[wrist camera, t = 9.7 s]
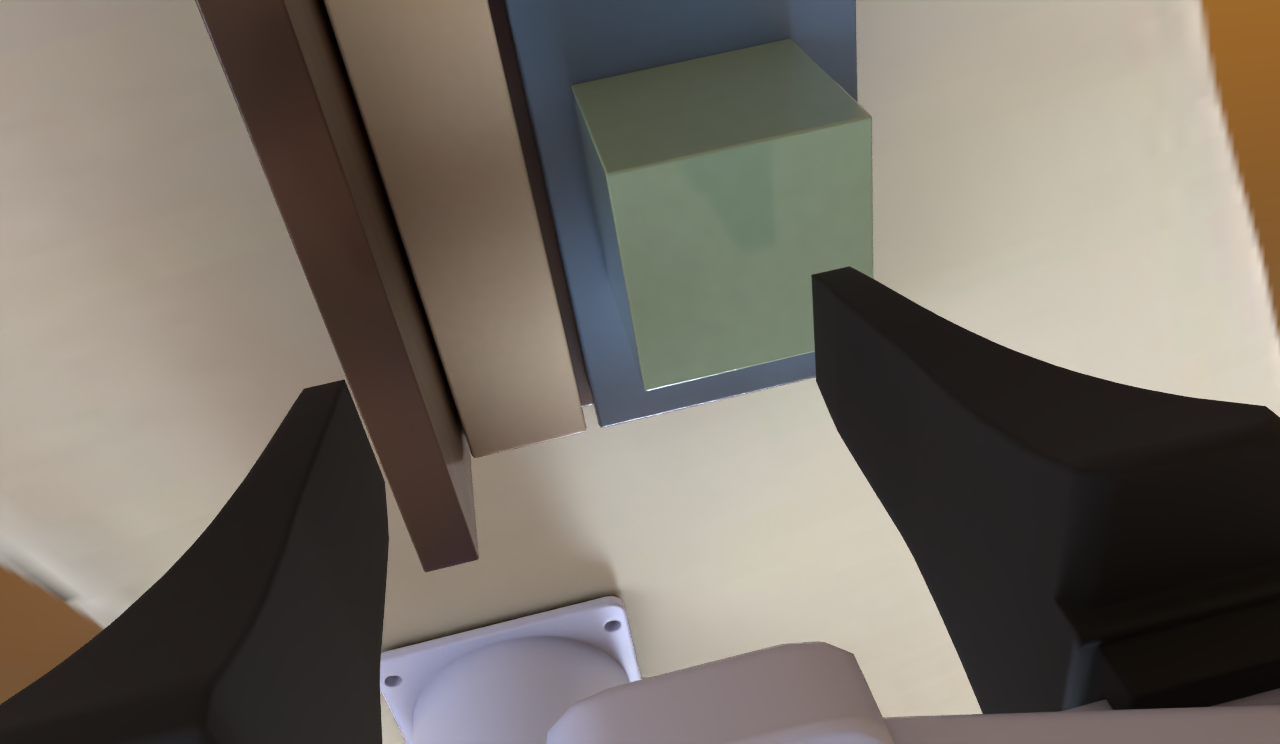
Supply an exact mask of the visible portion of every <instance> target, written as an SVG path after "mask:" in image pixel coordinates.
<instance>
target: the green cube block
mask: <svg viewBox="0 0 1280 744" xmlns="http://www.w3.org/2000/svg"><path fill="white" fill-rule="evenodd" d="M571 91H572V96H573V101H574V106H575V111H576V117H577V122H578V127H579V132H580V137H581V142H582V148H583V153H584V158H585V163H586V168H587V174H588V179H589V184H590V189H591V194H592V199H593V205H594V210H595V215H596V220H597V225H598V231H599V236H600V241H601V246H602V251H603V256H604V262H605V267H606V272H607V277H608V281H609V284H610V287H611V290H612V293H613V296H614V299H615V302H616V305H617V308H618V311H619V314H620V317H621V320H622V323H623V326H624V329H625V332H626V335H627V338H628V341H629V344H630V347H631V350H632V353H633V356H634V359H635V362H636V366H637V369H638V372H639V375H640V378H641V381H642V384H643V387H644V389H645V390H646V391H650V390H654V389H658V388H662V387H667V386H671V385H675V384H679V383H683V382H688V381H692V380H696V379H700V378H705V377H709V376H713V375H717V374H722V373H726V372H730V371H734V370H739V369H743V368H747V367H751V366H756V365H760V364H764V363H768V362H773V361H777V360H781V359H785V358H790V357H794V356H798V355H802V354H806V353H811V352H815V344H814V322H813V299H812V277H811V275H813V274H817V273H822V272H826V271H831V270H835V269H839V268H844V267H848V266H850V267H852V268H854V269H856V270H858V271H860V272H862V273H864V274H865V275H867V276H869V277H871V278H872V279H873V205H872V117H871V115H870V114H869V113H868V112H867V111H866V110H865V109H864V108H863V107H862V106H861V105H859V104H858V103H857V102H856V101H855V100H854V99H853V98H852V97H851V96H850V95H849V94H848V93H847V92H846V91H845V90H844V89H843V88H842V87H841V86H840V85H839V84H838V83H837V82H836V81H835V80H834V79H833V78H832V77H831V76H830V75H829V74H828V73H827V72H825V71H824V70H823V69H822V68H821V67H820V66H819V65H818V64H817V63H816V62H815V61H814V60H813V59H812V58H811V57H810V56H809V55H808V54H807V53H806V52H805V51H804V50H803V49H802V48H801V47H800V46H799V45H798V44H797V43H796V42H795V41H794V40H792V39H786V40H781V41H777V42H772V43H767V44H763V45H758V46H753V47H748V48H744V49H739V50H734V51H730V52H725V53H720V54H716V55H711V56H706V57H702V58H697V59H692V60H688V61H683V62H678V63H674V64H669V65H664V66H660V67H655V68H650V69H646V70H641V71H636V72H631V73H627V74H622V75H617V76H613V77H608V78H603V79H599V80H594V81H589V82H585V83H580V84H575V85H572V86H571Z"/></svg>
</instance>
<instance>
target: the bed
mask: <svg viewBox="0 0 1280 744" xmlns="http://www.w3.org/2000/svg"><path fill="white" fill-rule="evenodd" d="M195 1H196V4H197V6H198V9H199V11H200V14H201V16H202V19H203V21H204V24H205V26H206V29H207V31H208V34H209V36H210V38H211V41H212V43H213V46H214V48H215V51H216V53H217V56H218V58H219V61H220V63H221V66H222V68H223V71H224V73H225V76H226V78H227V81H228V83H229V86H230V88H231V91H232V93H233V96H234V98H235V101H236V103H237V106H238V108H239V111H240V113H241V116H242V118H243V121H244V123H245V126H246V128H247V131H248V133H249V136H250V138H251V141H252V143H253V146H254V148H255V151H256V153H257V156H258V158H259V161H260V163H261V166H262V168H263V171H264V173H265V176H266V178H267V181H268V183H269V186H270V188H271V191H272V193H273V196H274V198H275V201H276V203H277V206H278V208H279V211H280V213H281V216H282V218H283V221H284V223H285V226H286V228H287V231H288V233H289V236H290V238H291V240H292V243H293V245H294V248H295V250H296V253H297V255H298V258H299V260H300V263H301V265H302V268H303V270H304V273H305V275H306V278H307V280H308V283H309V285H310V288H311V290H312V293H313V295H314V298H315V300H316V303H317V305H318V308H319V310H320V313H321V315H322V318H323V320H324V323H325V325H326V328H327V330H328V333H329V335H330V338H331V340H332V343H333V345H334V348H335V350H336V353H337V355H338V358H339V360H340V363H341V365H342V368H343V370H344V373H345V375H346V378H347V380H348V383H349V385H350V388H351V390H352V393H353V395H354V398H355V400H356V403H357V405H358V408H359V410H360V413H361V415H362V418H363V420H364V423H365V425H366V428H367V430H368V433H369V435H370V438H371V440H372V442H373V445H374V447H375V450H376V452H377V455H378V457H379V460H380V462H381V465H382V467H383V470H384V472H385V475H386V477H387V480H388V482H389V485H390V487H391V490H392V492H393V495H394V497H395V500H396V502H397V505H398V507H399V510H400V512H401V515H402V517H403V520H404V522H405V525H406V527H407V530H408V532H409V535H410V537H411V540H412V542H413V545H414V547H415V550H416V552H417V555H418V557H419V560H420V562H421V565H422V567H423V570H424V571H425V572H429V571H434V570H438V569H442V568H446V567H450V566H454V565H458V564H462V563H466V562H470V561H474V560H478V558H479V554H478V542H477V530H476V519H475V507H474V495H473V483H472V471H471V459H470V451H471V454H472V456H473V457H474V458H478V457H482V456H486V455H490V454H494V453H499V452H503V451H507V450H511V449H516V448H520V447H524V446H528V445H532V444H537V443H541V442H545V441H549V440H553V439H558V438H562V437H566V436H570V435H574V434H579V433H583V432H585V431H586V428H587V427H586V423H585V419H584V414H583V410H582V407H584V406H589V405H593V404H594V408H595V412H596V416H597V420H598V424H599V426H600V427H602V428H604V427H608V426H612V425H617V424H621V423H625V422H629V421H633V420H638V419H642V418H646V417H650V416H655V415H659V414H663V413H667V412H671V411H676V410H680V409H684V408H688V407H692V406H697V405H701V404H705V403H709V402H713V401H718V400H722V399H726V398H730V397H735V396H739V395H743V394H747V393H751V392H756V391H760V390H764V389H768V388H772V387H777V386H781V385H785V384H789V383H794V382H798V381H802V380H806V379H810V378H815V377H816V366H815V352H811V353H806V354H802V355H798V356H794V357H790V358H785V359H781V360H777V361H773V362H768V363H764V364H760V365H756V366H751V367H747V368H743V369H739V370H734V371H730V372H726V373H722V374H717V375H713V376H709V377H705V378H700V379H696V380H692V381H688V382H683V383H679V384H675V385H671V386H667V387H662V388H658V389H654V390H650V391H646V390H645V389H644V387H643V384H642V381H641V378H640V375H639V372H638V369H637V366H636V362H635V359H634V356H633V353H632V350H631V347H630V344H629V341H628V338H627V335H626V332H625V329H624V326H623V323H622V320H621V317H620V314H619V311H618V308H617V305H616V302H615V299H614V296H613V293H612V290H611V287H610V284H609V281H608V277H607V272H606V267H605V262H604V256H603V251H602V246H601V241H600V236H599V231H598V225H597V220H596V215H595V210H594V205H593V199H592V194H591V189H590V184H589V179H588V174H587V168H586V163H585V158H584V153H583V148H582V142H581V137H580V132H579V127H578V122H577V117H576V111H575V106H574V101H573V96H572V91H571V86H572V85H575V84H580V83H585V82H589V81H594V80H599V79H603V78H608V77H613V76H617V75H622V74H627V73H631V72H636V71H641V70H646V69H650V68H655V67H660V66H664V65H669V64H674V63H678V62H683V61H688V60H692V59H697V58H702V57H706V56H711V55H716V54H720V53H725V52H730V51H734V50H739V49H744V48H748V47H753V46H758V45H763V44H767V43H772V42H777V41H781V40H786V39H792V40H794V41H795V42H796V43H797V44H798V45H799V46H800V47H801V48H802V49H803V50H804V51H805V52H806V53H807V54H808V55H809V56H810V57H811V58H812V59H813V60H814V61H815V62H816V63H817V64H818V65H819V66H820V67H821V68H822V69H823V70H824V71H825V72H827V73H828V74H829V75H830V76H831V77H832V78H833V79H834V80H835V81H836V82H837V83H838V84H839V85H840V86H841V87H842V88H843V89H844V90H845V91H846V92H847V93H848V94H849V95H850V96H851V97H852V98H853V99H854V100H855V101H856V102H857V52H856V0H195Z"/></svg>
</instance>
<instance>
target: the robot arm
mask: <svg viewBox="0 0 1280 744" xmlns="http://www.w3.org/2000/svg"><path fill="white" fill-rule="evenodd" d="M811 277H812V299H813V322H814V344H815V366H816V382H817V384H818V386H819V389H820V391H821V394H822V396H823V398H824V401H825V403H826V406H827V408H828V410H829V413H830V415H831V417H832V419H833V422H834V424H835V426H836V428H837V430H838V432H839V434H840V436H841V438H842V439H843V441H844V443H845V444H846V446H847V448H848V449H849V451H850V453H851V454H852V456H853V457H854V459H855V461H856V462H857V464H858V466H859V467H860V469H861V471H862V472H863V474H864V475H865V477H866V479H867V480H868V482H869V483H870V485H871V487H872V488H873V490H874V492H875V493H876V495H877V496H878V498H879V500H880V501H881V503H882V504H883V506H884V508H885V509H886V511H887V512H888V514H889V516H890V517H891V519H892V521H893V522H894V524H895V525H896V527H897V529H898V530H899V532H900V533H901V535H902V537H903V539H904V541H905V542H906V544H907V546H908V548H909V550H910V551H911V553H912V555H913V557H914V559H915V561H916V563H917V565H918V567H919V569H920V572H921V574H922V576H923V578H924V580H925V582H926V584H927V586H928V589H929V591H930V593H931V595H932V597H933V599H934V601H935V604H936V606H937V608H938V610H939V612H940V615H941V617H942V619H943V621H944V624H945V626H946V628H947V630H948V633H949V635H950V637H951V639H952V642H953V644H954V646H955V648H956V651H957V653H958V655H959V658H960V660H961V662H962V665H963V667H964V669H965V672H966V674H967V677H968V679H969V681H970V684H971V686H972V689H973V691H974V693H975V696H976V698H977V701H978V703H979V705H980V708H981V710H982V713H983V714H972V715H941V716H910V717H882V715H881V713H880V710H879V708H878V706H877V704H876V702H875V699H874V697H873V695H872V693H871V691H870V689H869V686H868V684H867V682H866V680H865V678H864V675H863V673H862V671H861V669H860V667H859V665H858V663H857V661H856V659H855V657H854V654H852V653H850V652H847V651H845V650H842V649H840V648H837V647H835V646H832V645H830V644H827V643H825V642H818V641H817V642H804V643H790V644H781V645H777V646H773V647H769V648H765V649H761V650H757V651H753V652H749V653H745V654H741V655H737V656H733V657H729V658H725V659H721V660H717V661H713V662H709V663H705V664H701V665H697V666H693V667H689V668H685V669H681V670H677V671H673V672H669V673H665V674H661V675H658V676H654V677H650V678H646V679H642V680H641V675H640V671H639V667H638V663H637V658H636V654H635V650H634V646H633V641H632V637H631V633H630V629H629V624H628V620H627V616H626V611H625V607H624V603H623V601H622V600H621V599H620V598H618V597H614V596H607V597H602V598H598V599H594V600H590V601H586V602H582V603H578V604H574V605H570V606H566V607H562V608H558V609H554V610H550V611H546V612H542V613H538V614H534V615H530V616H526V617H522V618H518V619H514V620H510V621H506V622H502V623H498V624H494V625H490V626H486V627H482V628H478V629H474V630H470V631H466V632H462V633H458V634H454V635H450V636H446V637H442V638H438V639H434V640H430V641H426V642H422V643H418V644H414V645H410V646H406V647H401V648H397V649H393V650H389V651H385V652H383V653H381V647H382V633H383V619H384V605H385V592H386V577H387V561H388V545H389V533H388V517H387V504H386V492H385V481H384V478H383V476H382V473H381V471H380V468H379V466H378V463H377V461H376V458H375V456H374V453H373V451H372V448H371V445H370V443H369V440H368V438H367V435H366V433H365V430H364V428H363V425H362V423H361V420H360V418H359V415H358V412H357V410H356V407H355V405H354V402H353V400H352V397H351V395H350V392H349V390H348V387H347V385H346V382H345V380H341V381H337V382H332V383H328V384H323V385H319V386H314V387H310V388H305V389H303V391H302V392H301V394H300V395H299V397H298V398H297V400H296V401H295V403H294V404H293V406H292V407H291V409H290V411H289V412H288V414H287V415H286V417H285V418H284V420H283V421H282V423H281V425H280V426H279V428H278V429H277V431H276V433H275V434H274V436H273V437H272V439H271V440H270V442H269V443H268V445H267V447H266V448H265V450H264V451H263V453H262V454H261V456H260V457H259V459H258V460H257V461H256V463H255V464H254V466H253V467H252V469H251V470H250V472H249V473H248V475H247V476H246V478H245V479H244V481H243V482H242V483H241V485H240V486H239V487H238V489H237V490H236V491H235V493H234V494H233V495H232V496H231V498H230V499H229V500H228V502H227V503H226V504H225V506H224V507H223V508H222V510H221V511H220V512H219V514H218V515H217V516H216V518H215V519H214V520H213V521H212V523H211V524H210V525H209V526H208V527H207V529H206V530H205V531H204V532H203V533H202V535H201V536H200V537H199V538H198V539H197V540H196V541H195V543H194V544H193V545H192V546H191V547H190V548H189V549H188V550H187V551H186V552H185V553H184V555H183V556H182V557H181V558H180V559H179V560H178V561H177V562H176V563H175V564H174V565H173V566H172V567H171V568H170V569H169V570H168V571H167V572H166V574H165V575H164V576H163V577H162V578H160V579H159V580H158V581H157V582H156V583H155V584H154V585H153V586H152V587H151V588H150V589H149V590H147V591H146V592H145V593H144V594H143V595H142V596H141V597H140V598H139V599H138V600H137V601H136V602H134V603H133V604H132V605H131V606H130V607H129V608H128V609H127V610H126V611H125V612H124V613H123V614H122V615H120V616H119V617H118V618H117V619H116V620H115V621H114V622H112V623H111V624H110V625H109V626H108V627H106V628H105V629H104V630H103V631H101V632H100V633H99V634H98V635H96V636H95V637H94V638H93V639H92V640H90V641H89V642H88V643H87V644H85V645H84V646H83V647H81V648H80V649H79V650H77V651H76V652H75V653H74V654H72V655H71V656H70V657H68V658H67V659H66V660H64V661H63V662H62V663H61V664H59V665H58V666H56V667H55V668H53V669H52V670H51V671H49V672H48V673H47V674H45V675H44V676H42V677H41V678H39V679H38V680H36V681H35V682H33V683H32V684H31V685H29V686H28V687H26V688H25V689H23V690H21V691H20V692H19V693H17V694H15V695H14V696H12V697H11V698H10V699H8V700H7V701H5V702H4V703H2V704H1V705H0V744H382V727H381V705H380V690H381V692H382V694H383V696H384V698H385V700H386V702H387V704H388V706H389V708H390V710H391V712H392V714H393V716H394V718H395V721H396V723H397V725H398V727H399V729H400V731H401V733H402V735H403V737H404V739H405V741H406V743H407V744H1280V417H1278V416H1277V415H1276V414H1275V413H1274V412H1272V411H1271V410H1270V409H1268V408H1267V407H1266V406H1259V405H1250V404H1242V403H1233V402H1224V401H1216V400H1207V399H1199V398H1191V397H1185V396H1179V395H1174V394H1168V393H1163V392H1158V391H1152V390H1147V389H1142V388H1137V387H1133V386H1128V385H1124V384H1119V383H1115V382H1111V381H1108V380H1104V379H1100V378H1096V377H1093V376H1089V375H1085V374H1082V373H1078V372H1074V371H1071V370H1068V369H1065V368H1061V367H1058V366H1055V365H1052V364H1049V363H1047V362H1044V361H1041V360H1038V359H1036V358H1033V357H1030V356H1027V355H1024V354H1022V353H1019V352H1016V351H1014V350H1011V349H1009V348H1006V347H1004V346H1001V345H999V344H997V343H995V342H992V341H990V340H988V339H986V338H984V337H981V336H979V335H977V334H975V333H973V332H970V331H968V330H966V329H964V328H962V327H960V326H958V325H956V324H954V323H952V322H950V321H948V320H946V319H944V318H942V317H940V316H938V315H936V314H935V313H933V312H931V311H929V310H927V309H925V308H923V307H922V306H920V305H918V304H916V303H914V302H913V301H911V300H909V299H907V298H906V297H904V296H902V295H900V294H899V293H897V292H895V291H893V290H892V289H890V288H888V287H886V286H885V285H883V284H881V283H879V282H878V281H876V280H874V279H872V278H871V277H869V276H867V275H865V274H864V273H862V272H860V271H858V270H856V269H854V268H852V267H850V266H848V267H844V268H839V269H835V270H831V271H826V272H822V273H817V274H813V275H811ZM611 620H615V621H613V622H609V621H611ZM394 675H396V676H394Z"/></svg>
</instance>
